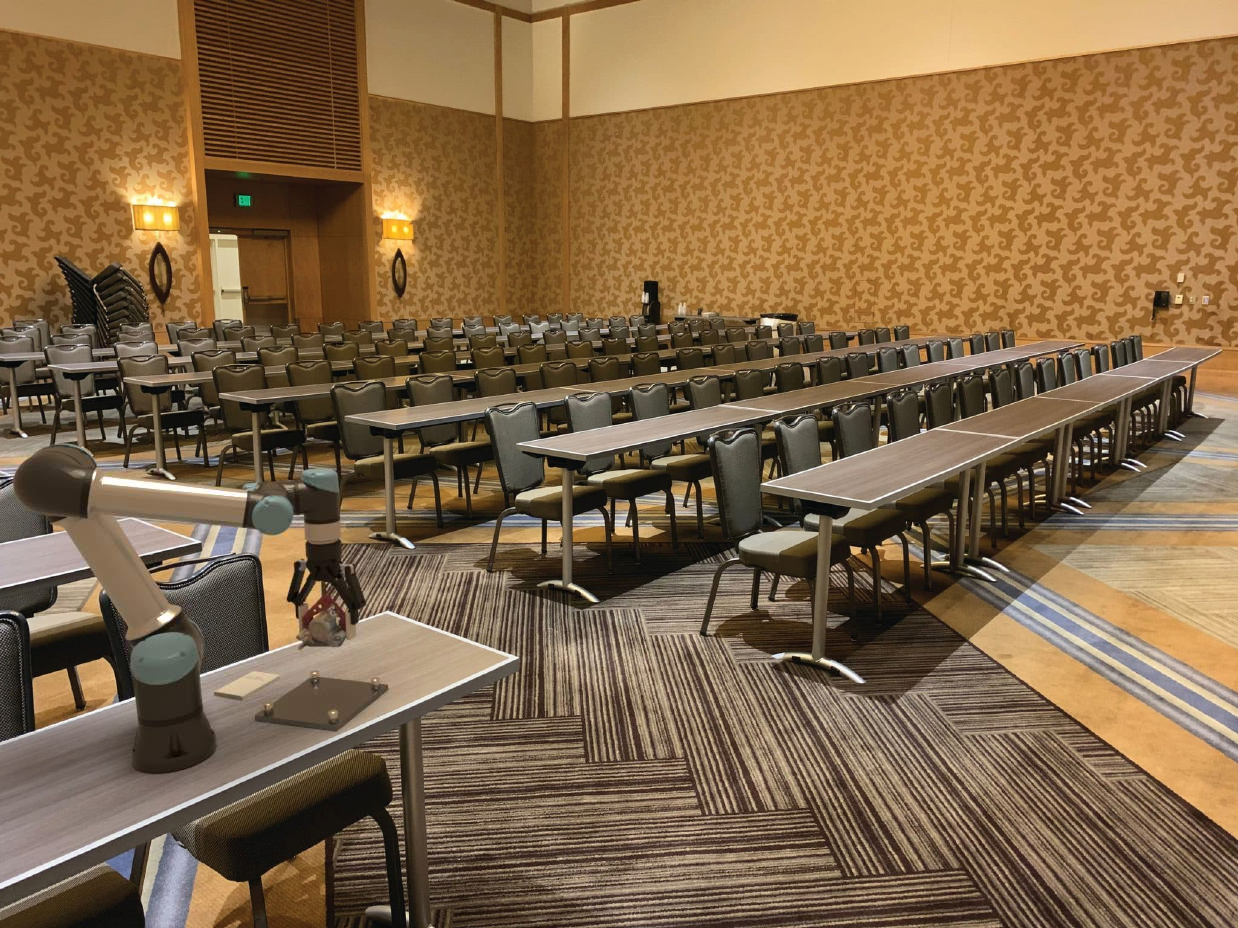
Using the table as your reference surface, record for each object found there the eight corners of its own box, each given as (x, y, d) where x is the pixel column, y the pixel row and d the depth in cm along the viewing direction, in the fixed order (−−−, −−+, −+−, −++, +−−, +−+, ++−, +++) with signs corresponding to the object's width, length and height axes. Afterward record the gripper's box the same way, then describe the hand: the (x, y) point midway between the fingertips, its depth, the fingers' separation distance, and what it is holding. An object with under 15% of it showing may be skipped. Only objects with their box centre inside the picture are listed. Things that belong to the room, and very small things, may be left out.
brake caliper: (364, 622, 207) (349, 592, 199) (349, 665, 200) (333, 635, 191) (316, 620, 209) (299, 590, 200) (300, 662, 201) (282, 633, 193)
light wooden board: (214, 697, 208) (252, 676, 220) (242, 702, 205) (280, 680, 217) (213, 691, 208) (252, 670, 219) (242, 695, 205) (279, 674, 217)
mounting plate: (255, 720, 195) (253, 706, 195) (313, 680, 215) (311, 667, 214) (336, 731, 190) (335, 716, 189) (388, 689, 210) (387, 676, 209)
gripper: (380, 539, 199) (384, 634, 202) (286, 531, 205) (291, 624, 208) (362, 548, 192) (366, 646, 195) (265, 539, 197) (271, 635, 201)
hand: (327, 635), depth 202 cm, fingers closed on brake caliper, 11 cm apart
